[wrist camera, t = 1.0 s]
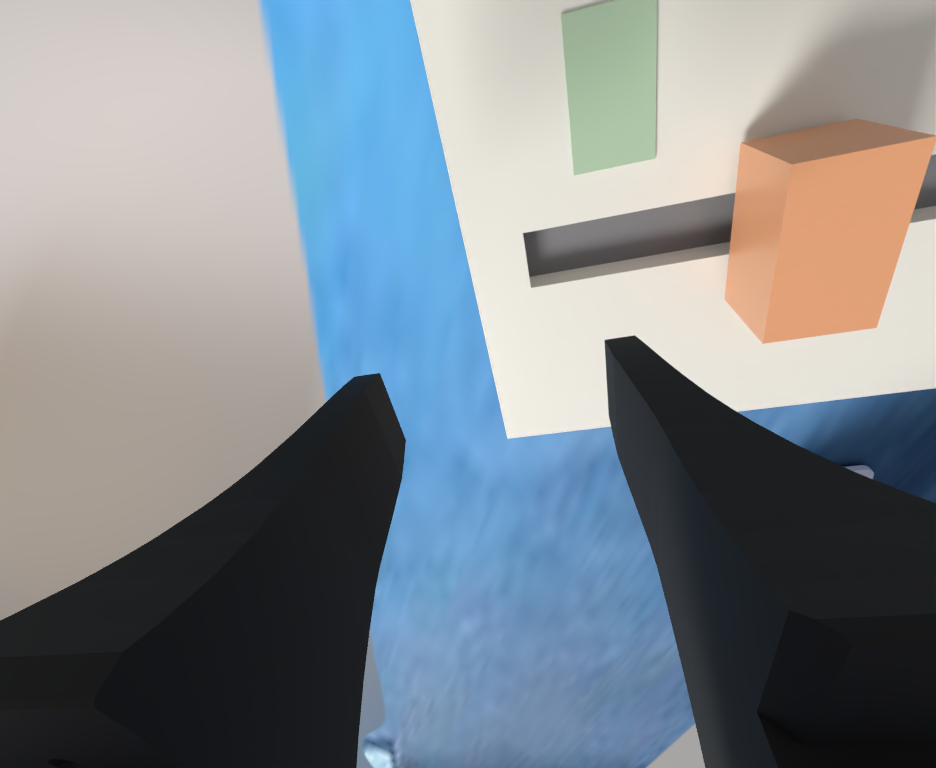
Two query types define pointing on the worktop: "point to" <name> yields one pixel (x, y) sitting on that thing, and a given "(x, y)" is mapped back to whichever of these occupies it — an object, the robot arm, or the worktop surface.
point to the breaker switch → (821, 226)
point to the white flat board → (663, 186)
